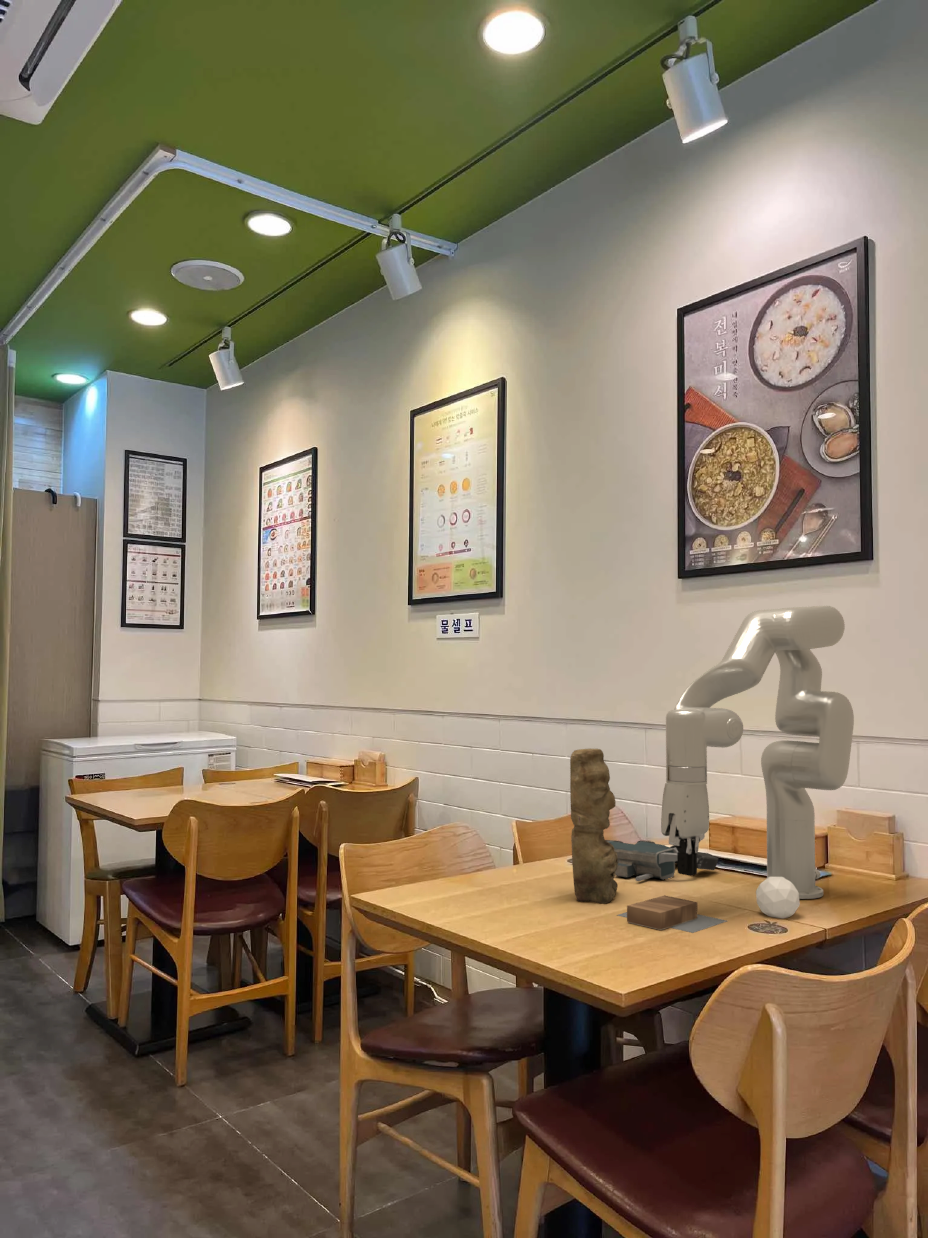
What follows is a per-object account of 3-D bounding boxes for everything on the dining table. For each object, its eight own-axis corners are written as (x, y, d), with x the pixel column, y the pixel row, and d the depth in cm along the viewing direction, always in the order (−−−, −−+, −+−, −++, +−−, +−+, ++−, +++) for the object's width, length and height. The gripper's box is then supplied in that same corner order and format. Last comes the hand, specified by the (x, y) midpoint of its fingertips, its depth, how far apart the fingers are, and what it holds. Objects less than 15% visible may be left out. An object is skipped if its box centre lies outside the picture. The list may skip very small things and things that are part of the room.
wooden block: (664, 895, 173) (627, 905, 165) (697, 902, 168) (660, 913, 160) (664, 911, 173) (626, 922, 165) (697, 919, 168) (660, 930, 160)
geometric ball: (789, 933, 172) (816, 902, 170) (762, 923, 168) (789, 890, 166) (766, 904, 178) (792, 874, 176) (739, 894, 174) (765, 862, 173)
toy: (730, 849, 220) (682, 849, 196) (727, 886, 218) (678, 890, 194) (625, 833, 236) (569, 831, 212) (622, 867, 234) (565, 869, 210)
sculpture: (616, 908, 178) (616, 751, 180) (568, 905, 180) (569, 750, 182) (618, 894, 190) (618, 747, 192) (573, 891, 192) (574, 746, 194)
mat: (653, 908, 178) (653, 904, 178) (728, 924, 167) (728, 920, 167) (616, 918, 170) (616, 915, 170) (692, 936, 159) (692, 932, 159)
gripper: (690, 771, 182) (690, 865, 180) (647, 776, 171) (647, 877, 170) (724, 774, 176) (725, 871, 175) (682, 780, 166) (683, 883, 165)
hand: (687, 874), depth 173 cm, fingers closed
